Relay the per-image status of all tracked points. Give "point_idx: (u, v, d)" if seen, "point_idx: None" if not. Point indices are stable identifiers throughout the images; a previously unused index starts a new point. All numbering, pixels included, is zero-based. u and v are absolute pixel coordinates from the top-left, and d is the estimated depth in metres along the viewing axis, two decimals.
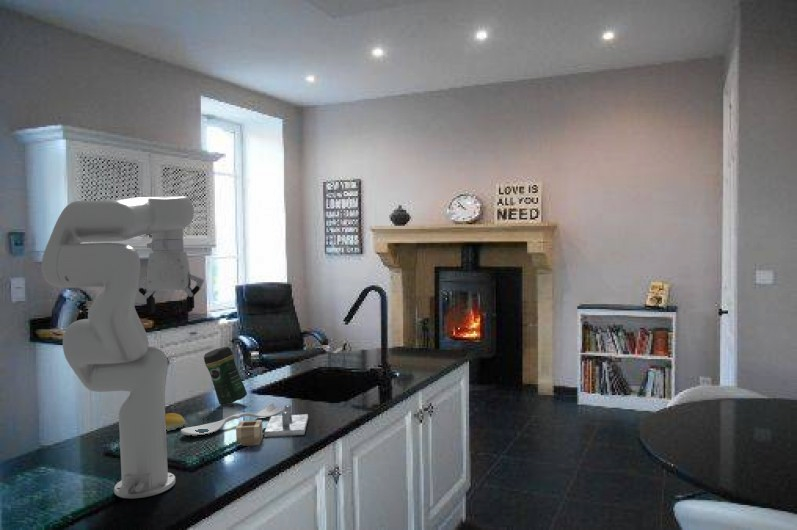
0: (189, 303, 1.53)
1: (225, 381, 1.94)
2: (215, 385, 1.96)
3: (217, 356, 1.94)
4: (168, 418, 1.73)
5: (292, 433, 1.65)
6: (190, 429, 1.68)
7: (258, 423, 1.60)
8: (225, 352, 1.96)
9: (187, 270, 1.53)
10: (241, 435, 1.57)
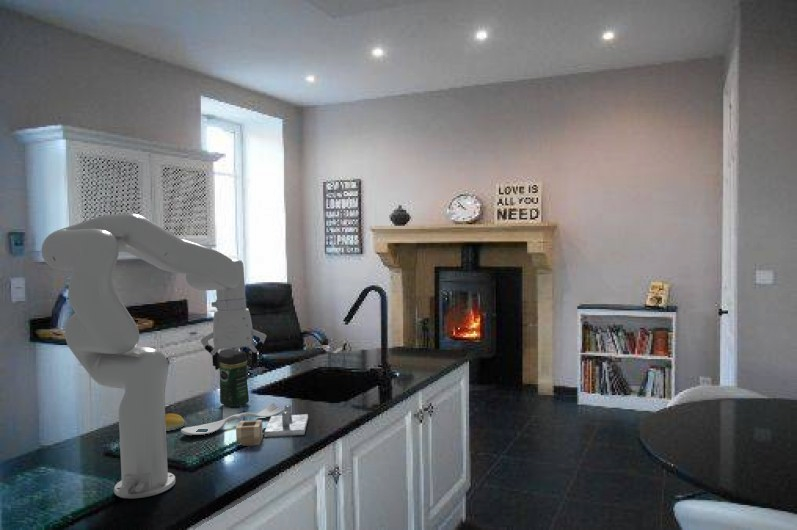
0: (253, 359, 1.59)
1: (231, 385, 1.93)
2: (221, 384, 1.96)
3: (230, 360, 1.92)
4: (167, 419, 1.73)
5: (292, 433, 1.65)
6: (190, 429, 1.69)
7: (258, 423, 1.60)
8: (240, 358, 1.93)
9: (251, 327, 1.58)
10: (241, 435, 1.57)
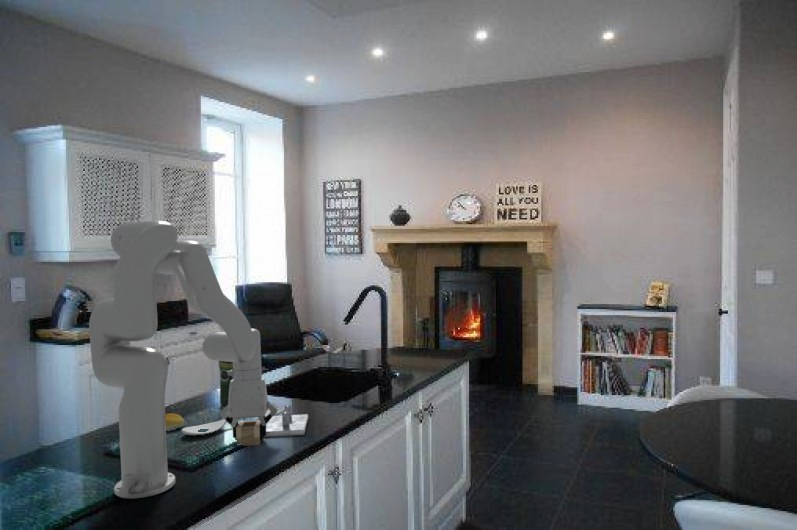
0: (262, 432, 1.59)
1: None
2: (221, 385, 1.96)
3: None
4: (167, 419, 1.73)
5: (292, 433, 1.65)
6: (191, 428, 1.69)
7: (258, 423, 1.60)
8: None
9: (266, 397, 1.59)
10: (241, 435, 1.57)
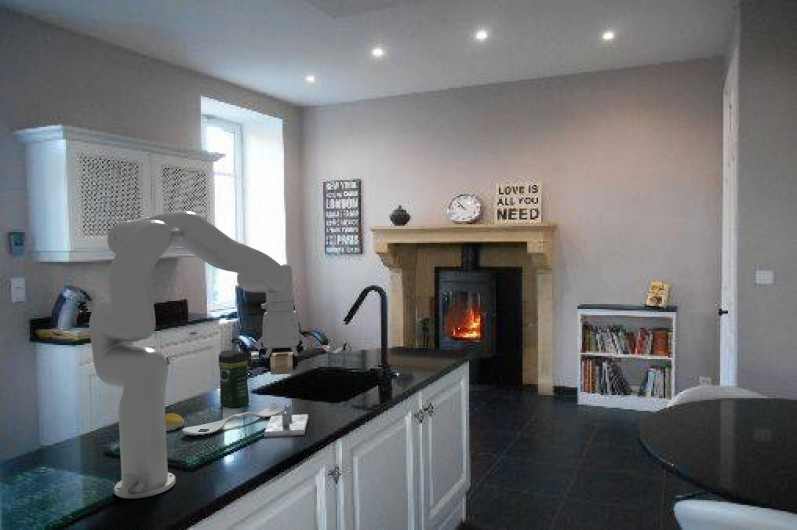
0: (294, 362, 1.67)
1: (231, 385, 1.94)
2: (221, 385, 1.96)
3: (231, 359, 1.93)
4: (167, 419, 1.73)
5: (292, 433, 1.65)
6: (192, 428, 1.69)
7: (290, 354, 1.68)
8: (240, 357, 1.95)
9: (298, 328, 1.66)
10: (275, 364, 1.64)
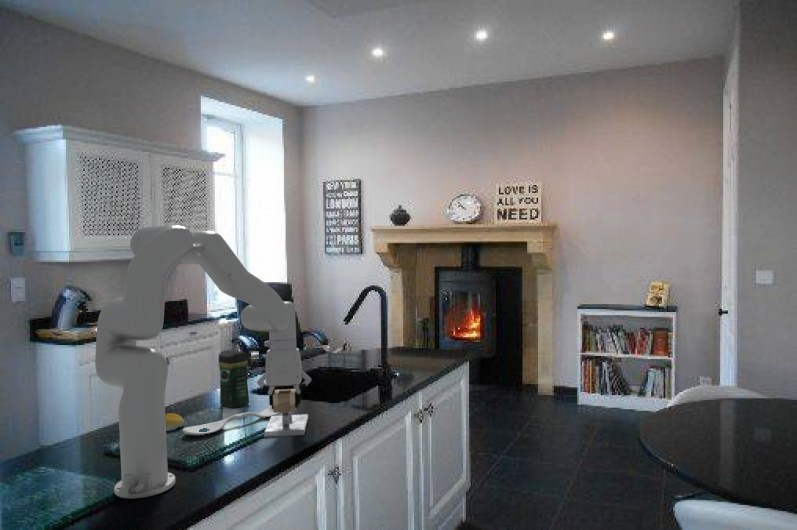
0: (297, 399, 1.67)
1: (231, 385, 1.94)
2: (221, 385, 1.96)
3: (231, 359, 1.93)
4: (167, 418, 1.73)
5: (292, 433, 1.65)
6: (192, 428, 1.69)
7: (293, 391, 1.68)
8: (240, 357, 1.95)
9: (301, 366, 1.67)
10: (278, 402, 1.65)
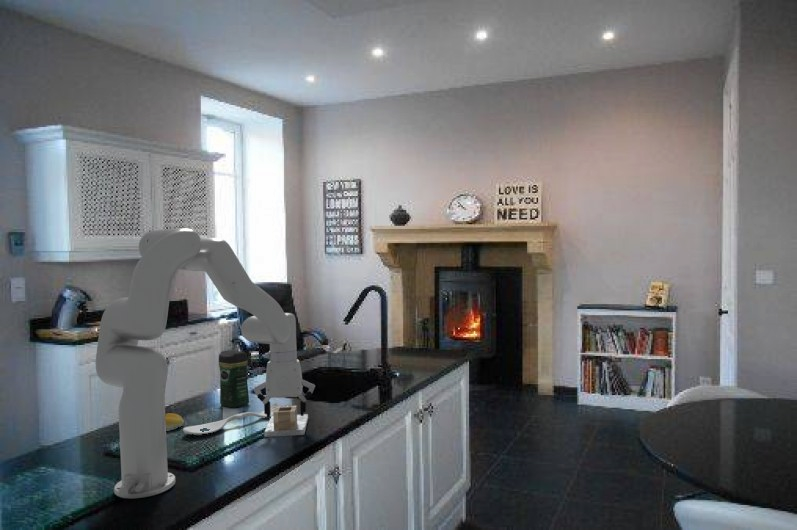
0: (303, 408, 1.67)
1: (231, 385, 1.94)
2: (221, 385, 1.96)
3: (231, 359, 1.93)
4: (167, 419, 1.73)
5: (292, 433, 1.65)
6: (192, 428, 1.69)
7: (293, 408, 1.68)
8: (240, 357, 1.95)
9: (301, 378, 1.67)
10: (278, 419, 1.65)
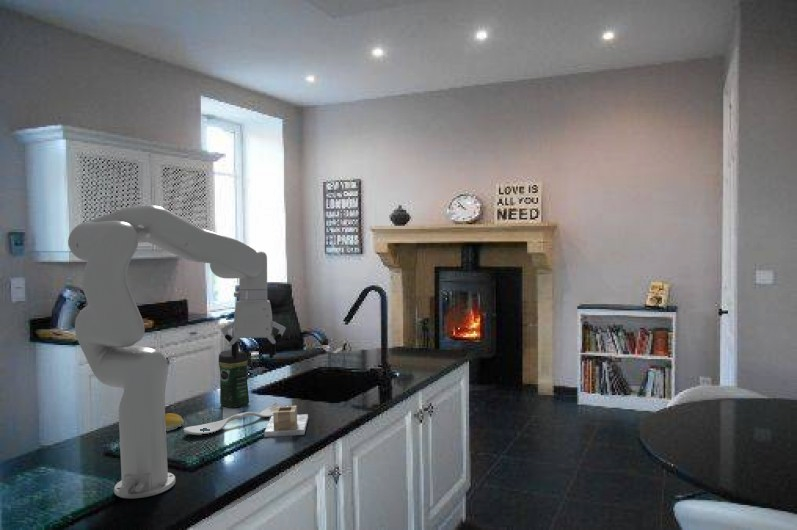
0: (272, 350, 1.60)
1: (231, 385, 1.94)
2: (221, 385, 1.96)
3: (231, 359, 1.93)
4: (166, 418, 1.73)
5: (292, 433, 1.65)
6: (193, 428, 1.69)
7: (293, 408, 1.68)
8: (240, 357, 1.95)
9: (271, 318, 1.60)
10: (278, 419, 1.65)
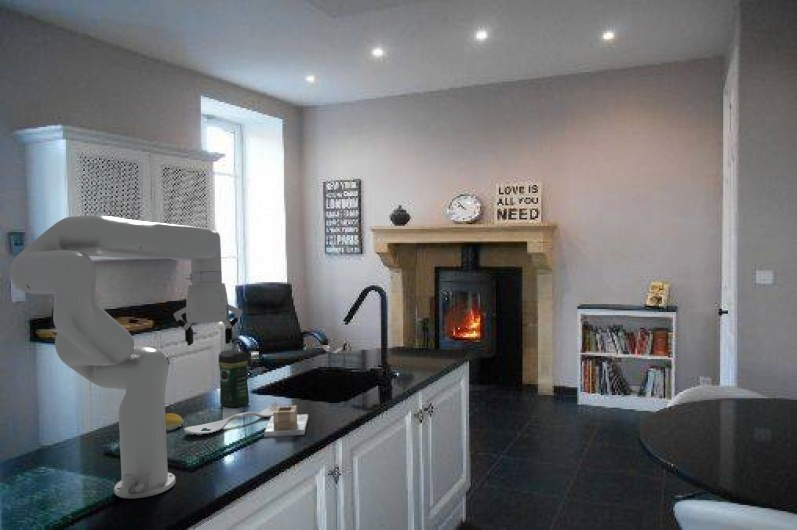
0: (228, 335, 1.52)
1: (231, 385, 1.94)
2: (221, 385, 1.96)
3: (231, 359, 1.93)
4: (166, 418, 1.73)
5: (292, 433, 1.65)
6: (193, 428, 1.69)
7: (293, 408, 1.68)
8: (240, 357, 1.95)
9: (226, 302, 1.52)
10: (278, 419, 1.65)
